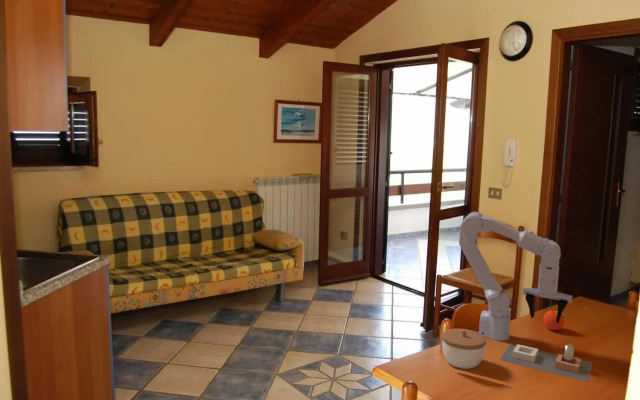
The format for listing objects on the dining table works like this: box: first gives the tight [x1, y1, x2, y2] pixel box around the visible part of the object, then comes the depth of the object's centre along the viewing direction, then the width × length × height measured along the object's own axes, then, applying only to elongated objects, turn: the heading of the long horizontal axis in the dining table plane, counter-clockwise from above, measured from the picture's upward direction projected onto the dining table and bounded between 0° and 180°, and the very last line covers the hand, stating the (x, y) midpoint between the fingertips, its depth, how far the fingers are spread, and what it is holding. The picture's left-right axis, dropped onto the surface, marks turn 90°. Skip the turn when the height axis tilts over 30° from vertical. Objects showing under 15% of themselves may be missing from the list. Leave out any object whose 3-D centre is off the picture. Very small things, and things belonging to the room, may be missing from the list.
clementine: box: [542, 309, 567, 331], centre depth 181 cm, size 8×7×7 cm
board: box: [499, 343, 594, 382], centre depth 155 cm, size 24×14×1 cm, turn 57°
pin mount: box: [513, 343, 539, 363], centre depth 158 cm, size 6×6×2 cm
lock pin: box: [563, 343, 575, 364], centre depth 151 cm, size 2×2×6 cm
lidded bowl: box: [441, 328, 487, 372], centre depth 153 cm, size 13×13×11 cm
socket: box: [555, 353, 582, 373], centre depth 151 cm, size 6×6×2 cm
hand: (545, 319), depth 166 cm, fingers open, 7 cm apart
